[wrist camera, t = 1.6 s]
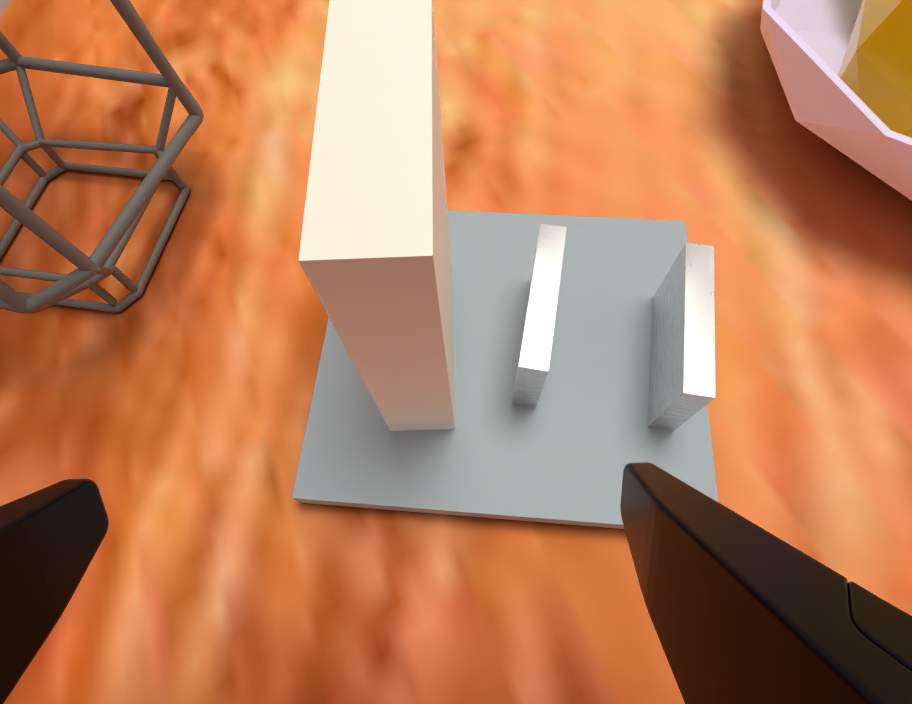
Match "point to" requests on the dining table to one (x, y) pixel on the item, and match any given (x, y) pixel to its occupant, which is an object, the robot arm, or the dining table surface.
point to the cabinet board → (492, 384)
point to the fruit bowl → (849, 77)
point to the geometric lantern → (126, 222)
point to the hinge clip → (672, 336)
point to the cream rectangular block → (384, 208)
